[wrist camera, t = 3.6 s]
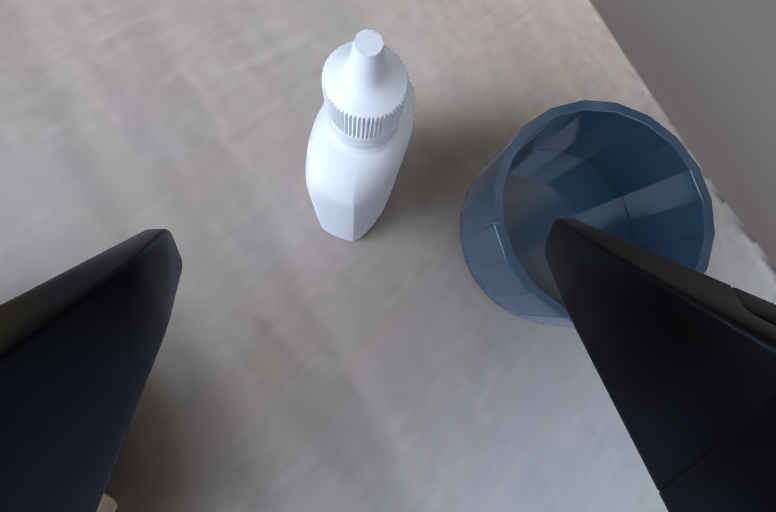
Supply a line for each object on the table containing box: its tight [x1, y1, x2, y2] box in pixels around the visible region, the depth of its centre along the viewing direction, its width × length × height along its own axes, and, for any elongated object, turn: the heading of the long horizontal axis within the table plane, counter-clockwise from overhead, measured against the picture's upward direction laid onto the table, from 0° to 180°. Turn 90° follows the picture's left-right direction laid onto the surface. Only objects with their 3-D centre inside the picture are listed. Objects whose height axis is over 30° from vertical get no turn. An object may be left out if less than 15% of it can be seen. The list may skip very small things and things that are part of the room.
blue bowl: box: [460, 100, 715, 328], centre depth 19 cm, size 11×11×5 cm
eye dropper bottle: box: [306, 30, 415, 242], centre depth 15 cm, size 4×6×12 cm
